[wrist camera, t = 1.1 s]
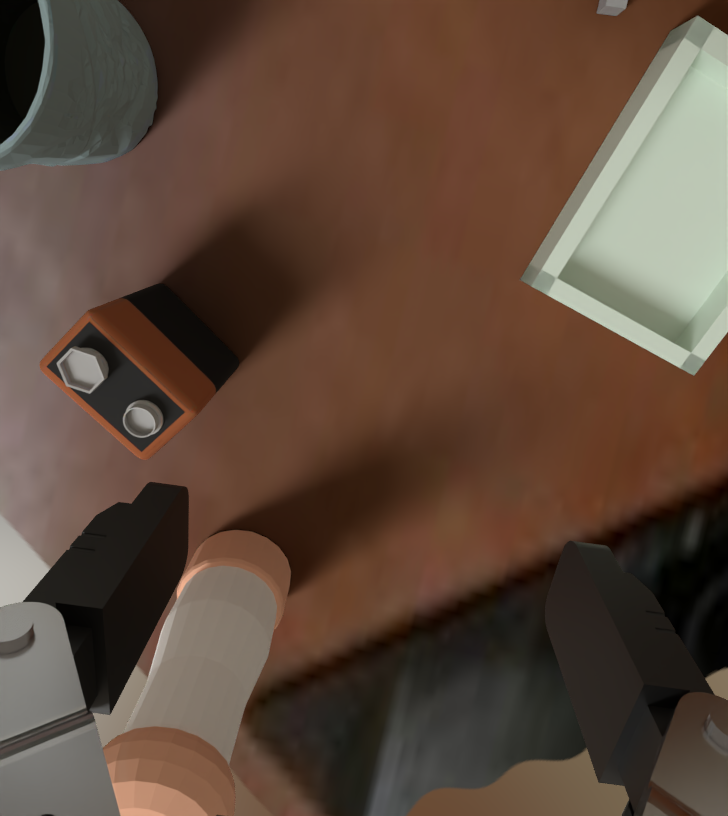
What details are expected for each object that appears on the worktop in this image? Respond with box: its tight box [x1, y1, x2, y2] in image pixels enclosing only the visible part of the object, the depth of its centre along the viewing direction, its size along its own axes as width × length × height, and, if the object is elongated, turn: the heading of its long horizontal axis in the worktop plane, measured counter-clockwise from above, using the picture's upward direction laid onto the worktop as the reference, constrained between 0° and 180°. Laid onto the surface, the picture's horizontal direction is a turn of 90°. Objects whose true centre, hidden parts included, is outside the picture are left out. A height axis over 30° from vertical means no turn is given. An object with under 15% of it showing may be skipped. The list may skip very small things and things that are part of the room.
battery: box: [40, 284, 239, 460], centre depth 30 cm, size 4×7×10 cm, turn 42°
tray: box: [520, 16, 728, 375], centre depth 30 cm, size 14×11×3 cm
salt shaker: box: [103, 530, 291, 816], centre depth 32 cm, size 7×7×19 cm
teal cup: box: [0, 0, 158, 170], centre depth 24 cm, size 10×10×12 cm
